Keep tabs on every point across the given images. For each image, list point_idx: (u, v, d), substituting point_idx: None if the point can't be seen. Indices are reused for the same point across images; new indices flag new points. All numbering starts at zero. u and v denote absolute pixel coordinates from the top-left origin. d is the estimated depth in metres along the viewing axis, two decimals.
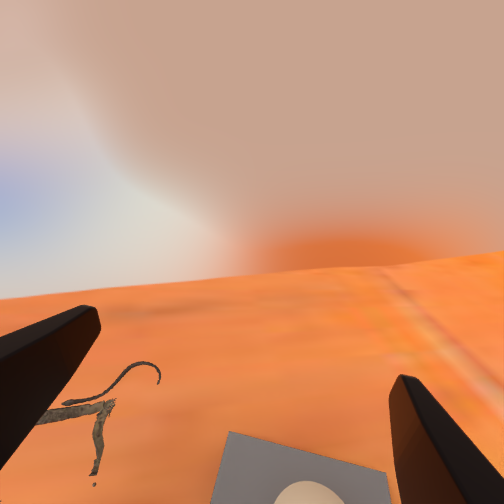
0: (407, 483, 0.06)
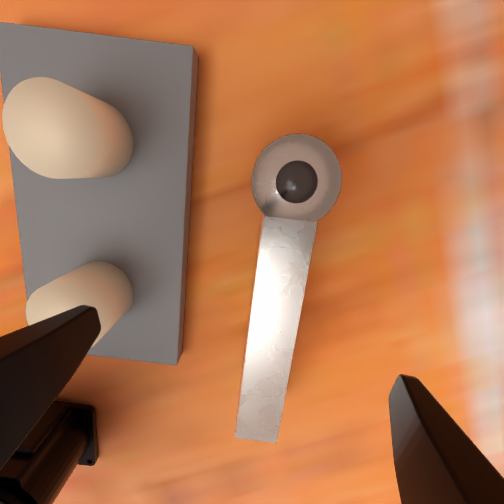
0: (407, 483, 0.06)
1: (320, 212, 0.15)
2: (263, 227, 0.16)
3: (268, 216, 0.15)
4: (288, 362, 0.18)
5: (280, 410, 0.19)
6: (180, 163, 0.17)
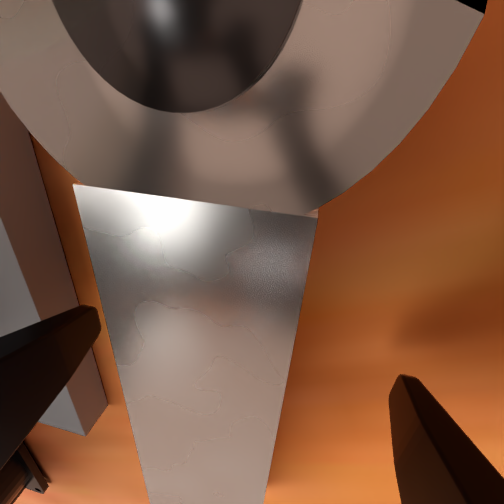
0: (407, 483, 0.06)
1: (334, 164, 0.03)
2: (88, 232, 0.04)
3: (91, 186, 0.03)
4: None
5: None
6: None
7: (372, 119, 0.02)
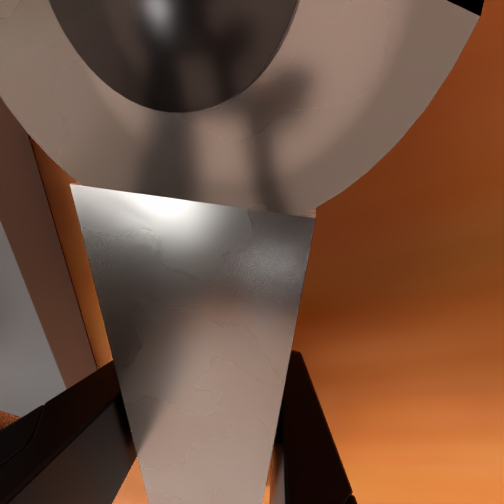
0: (273, 446, 0.06)
1: (331, 163, 0.03)
2: (85, 232, 0.04)
3: (88, 186, 0.03)
4: None
5: None
6: None
7: (369, 119, 0.02)
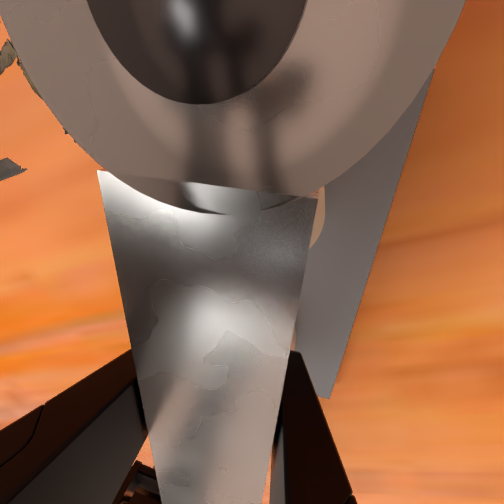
0: (273, 446, 0.06)
1: (332, 149, 0.03)
2: (109, 215, 0.04)
3: (114, 172, 0.04)
4: None
5: None
6: (378, 216, 0.14)
7: (365, 109, 0.03)
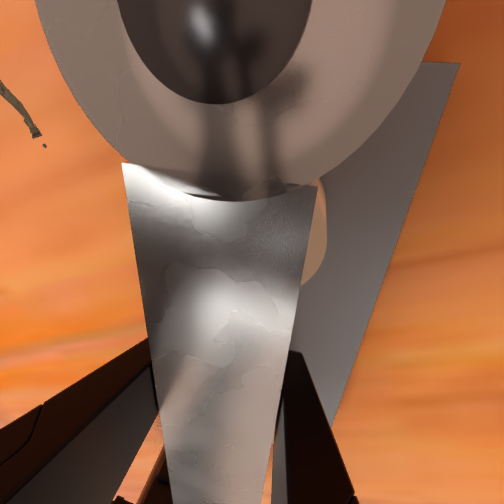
0: (275, 446, 0.06)
1: (329, 142, 0.04)
2: (131, 203, 0.05)
3: (137, 164, 0.04)
4: (255, 494, 0.08)
5: None
6: (388, 235, 0.12)
7: (358, 108, 0.03)
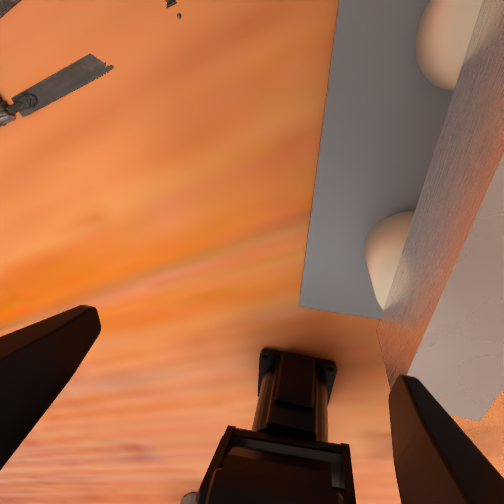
0: (407, 483, 0.06)
1: None
2: None
3: None
4: None
5: None
6: None
7: None
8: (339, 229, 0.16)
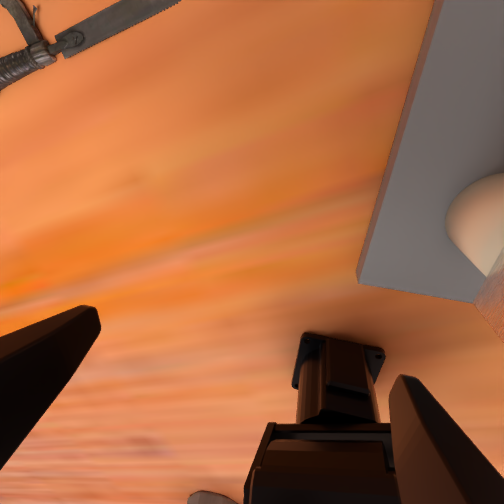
0: (407, 483, 0.06)
1: None
2: None
3: None
4: None
5: None
6: None
7: None
8: (421, 193, 0.15)
